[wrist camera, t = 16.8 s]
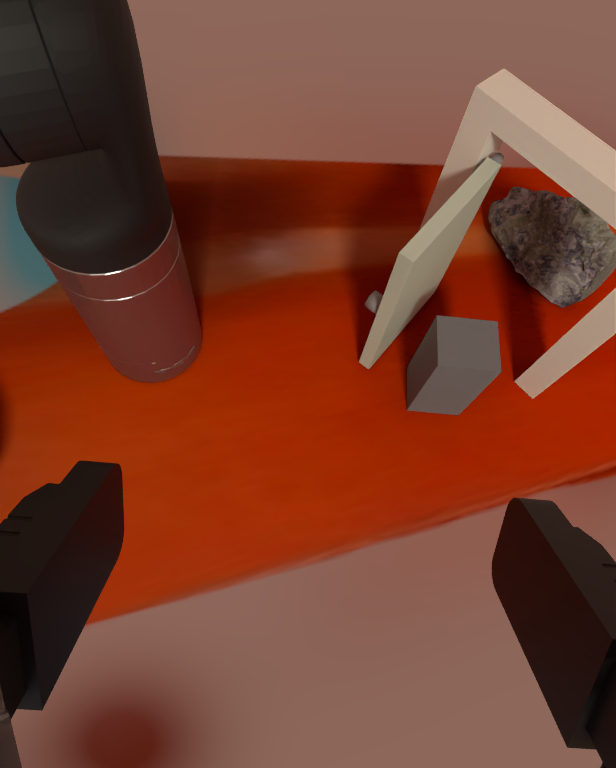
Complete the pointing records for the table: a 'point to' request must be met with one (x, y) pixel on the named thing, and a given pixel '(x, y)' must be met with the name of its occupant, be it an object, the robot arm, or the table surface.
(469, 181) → the door
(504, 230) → the mineral rock
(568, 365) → the door frame
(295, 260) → the table surface
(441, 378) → the block
